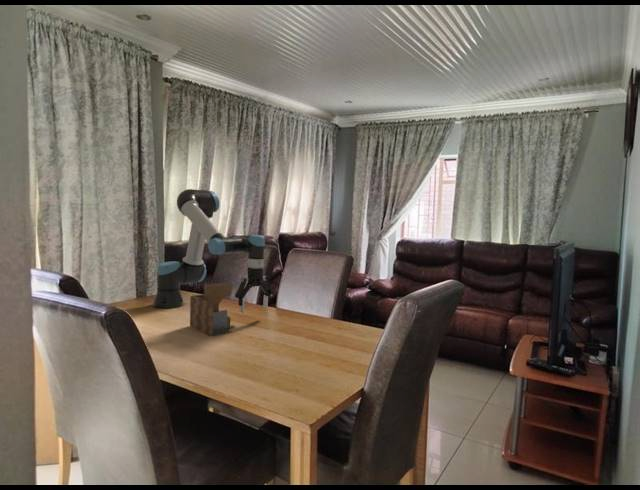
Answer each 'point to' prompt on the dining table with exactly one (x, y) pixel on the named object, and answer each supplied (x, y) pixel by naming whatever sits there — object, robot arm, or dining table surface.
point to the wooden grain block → (201, 314)
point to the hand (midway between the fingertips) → (253, 310)
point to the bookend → (220, 323)
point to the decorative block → (217, 295)
